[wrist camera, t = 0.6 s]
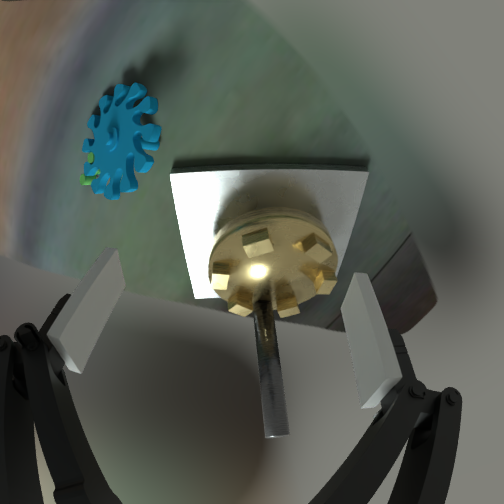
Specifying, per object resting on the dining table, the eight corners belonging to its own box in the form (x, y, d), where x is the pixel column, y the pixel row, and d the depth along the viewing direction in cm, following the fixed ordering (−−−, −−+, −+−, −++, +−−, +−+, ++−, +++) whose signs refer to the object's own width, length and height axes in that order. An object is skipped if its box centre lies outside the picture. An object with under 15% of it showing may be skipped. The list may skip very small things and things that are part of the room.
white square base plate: (171, 168, 26) (167, 183, 25) (364, 166, 28) (375, 180, 26) (195, 291, 41) (195, 307, 39) (329, 284, 42) (334, 298, 40)
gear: (132, 56, 17) (163, 154, 17) (178, 76, 22) (214, 162, 22) (66, 136, 22) (85, 226, 22) (110, 140, 27) (133, 219, 27)
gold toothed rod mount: (215, 199, 26) (214, 412, 13) (350, 216, 28) (419, 386, 16) (204, 292, 36) (204, 440, 23) (308, 296, 38) (335, 429, 25)
